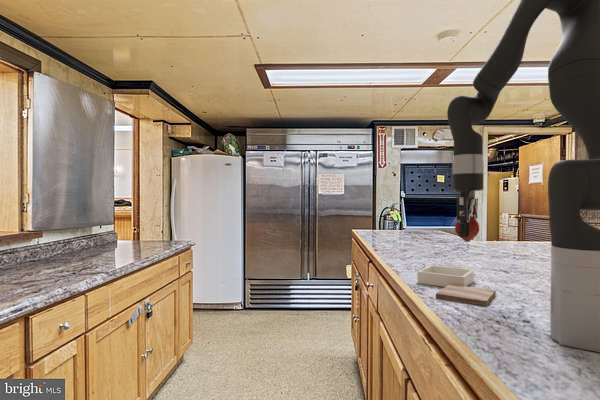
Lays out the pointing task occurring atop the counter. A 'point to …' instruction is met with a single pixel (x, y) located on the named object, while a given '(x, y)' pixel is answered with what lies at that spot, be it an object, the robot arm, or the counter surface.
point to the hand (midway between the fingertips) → (467, 235)
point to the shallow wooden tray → (445, 276)
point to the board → (466, 294)
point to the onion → (472, 229)
